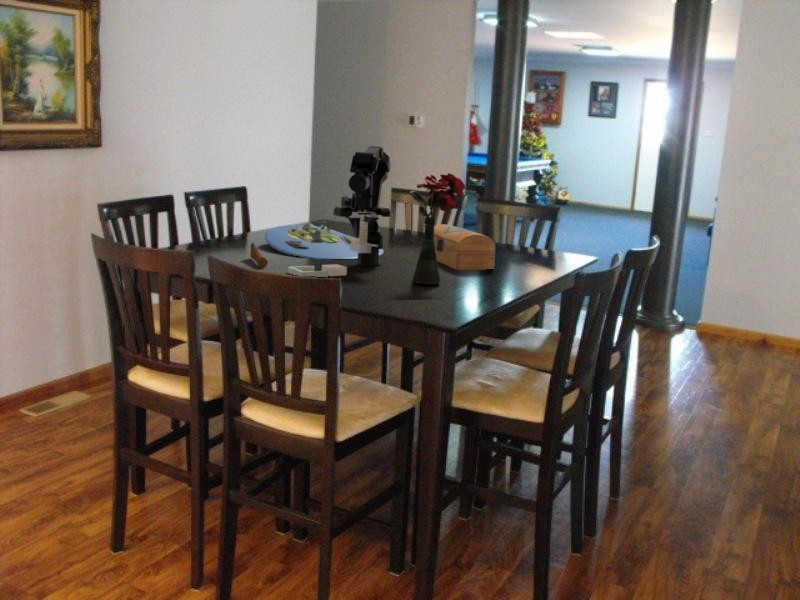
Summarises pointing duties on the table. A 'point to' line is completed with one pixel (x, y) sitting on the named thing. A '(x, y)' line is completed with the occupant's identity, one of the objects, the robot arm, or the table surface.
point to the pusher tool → (361, 240)
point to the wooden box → (463, 248)
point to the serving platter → (311, 242)
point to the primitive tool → (258, 256)
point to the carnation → (446, 201)
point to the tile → (335, 270)
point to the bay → (306, 271)
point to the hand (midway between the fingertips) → (361, 237)
